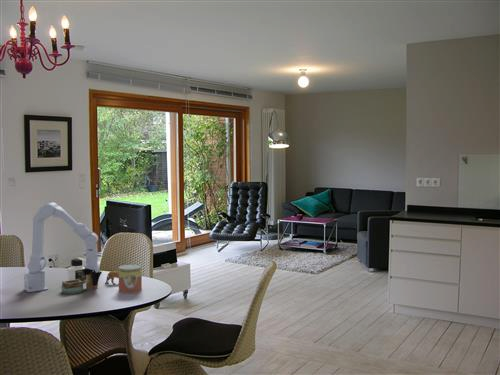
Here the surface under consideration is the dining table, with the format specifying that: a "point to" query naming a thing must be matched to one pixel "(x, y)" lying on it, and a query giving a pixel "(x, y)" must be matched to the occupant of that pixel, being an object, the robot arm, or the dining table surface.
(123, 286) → the canned food
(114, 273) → the lion figurine
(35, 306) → the dining table surface
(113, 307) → the dining table surface
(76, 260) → the medicine bottle
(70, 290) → the pale green domed part
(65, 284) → the brown wooden rectangular frame
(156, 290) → the dining table surface
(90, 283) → the block
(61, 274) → the dining table surface
